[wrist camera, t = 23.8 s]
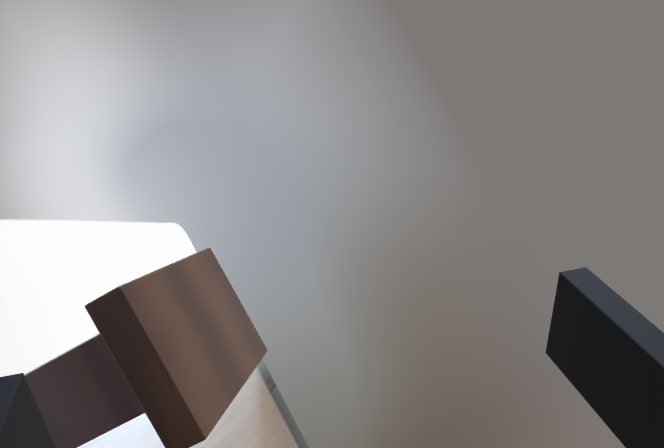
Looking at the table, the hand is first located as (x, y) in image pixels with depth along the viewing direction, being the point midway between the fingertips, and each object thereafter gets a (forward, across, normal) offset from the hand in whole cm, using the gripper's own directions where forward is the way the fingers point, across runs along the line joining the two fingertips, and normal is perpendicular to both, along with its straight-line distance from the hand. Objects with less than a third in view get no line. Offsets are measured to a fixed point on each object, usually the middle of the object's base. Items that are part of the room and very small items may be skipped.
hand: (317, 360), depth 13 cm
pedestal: (+17, -23, -19) cm, 34 cm away
